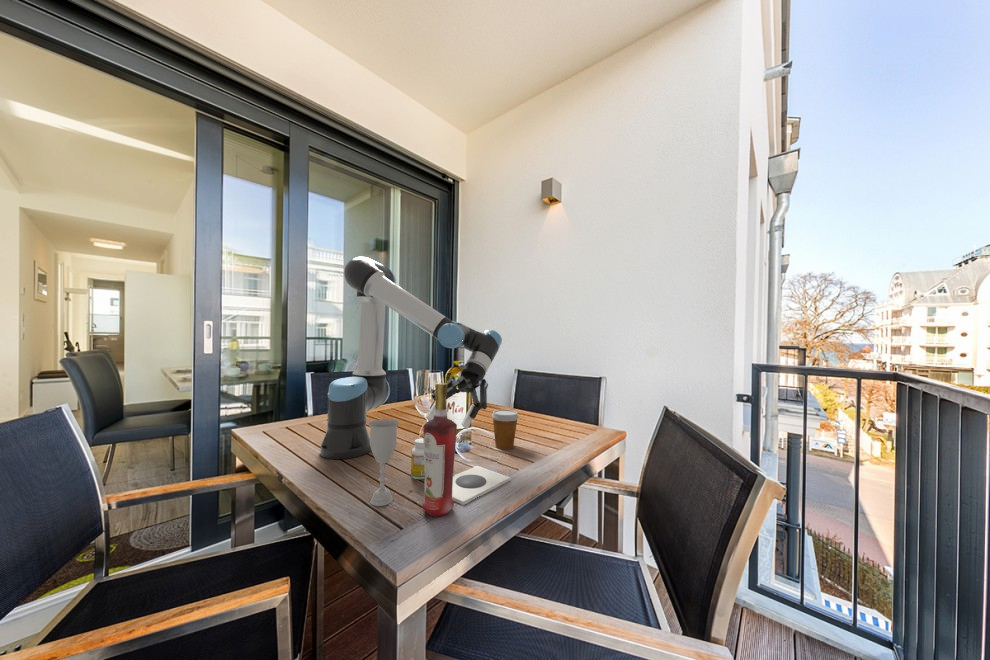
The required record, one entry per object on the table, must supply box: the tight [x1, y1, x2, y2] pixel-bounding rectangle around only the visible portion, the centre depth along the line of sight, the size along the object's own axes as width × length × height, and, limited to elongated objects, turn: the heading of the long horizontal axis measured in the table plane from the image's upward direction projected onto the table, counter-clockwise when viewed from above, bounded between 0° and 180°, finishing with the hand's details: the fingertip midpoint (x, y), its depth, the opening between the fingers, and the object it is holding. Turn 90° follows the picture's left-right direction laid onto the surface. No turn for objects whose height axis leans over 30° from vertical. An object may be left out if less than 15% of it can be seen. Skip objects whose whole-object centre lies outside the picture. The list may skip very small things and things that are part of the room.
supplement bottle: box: [410, 437, 425, 480], centre depth 94 cm, size 5×5×10 cm
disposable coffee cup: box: [491, 409, 520, 450], centre depth 120 cm, size 10×10×12 cm
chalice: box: [367, 418, 400, 507], centre depth 79 cm, size 7×7×18 cm
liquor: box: [422, 382, 458, 518], centre depth 75 cm, size 7×7×28 cm
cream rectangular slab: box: [452, 465, 511, 506], centre depth 89 cm, size 18×12×1 cm, turn 141°
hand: (445, 423), depth 101 cm, fingers open, 13 cm apart
